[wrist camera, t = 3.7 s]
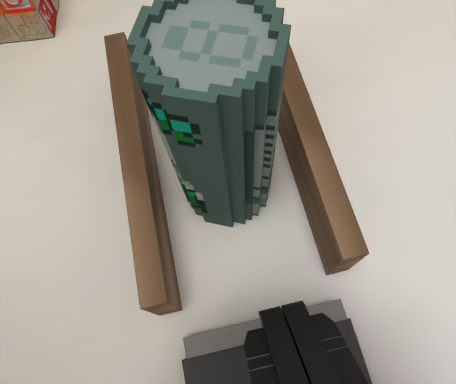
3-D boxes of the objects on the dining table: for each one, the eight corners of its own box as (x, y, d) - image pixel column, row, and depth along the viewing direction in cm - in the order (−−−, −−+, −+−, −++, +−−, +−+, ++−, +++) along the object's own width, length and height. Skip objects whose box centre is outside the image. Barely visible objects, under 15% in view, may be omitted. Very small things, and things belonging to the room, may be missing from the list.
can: (199, 144, 30) (156, -30, 16) (275, 158, 29) (299, -13, 15) (178, 215, 28) (108, 85, 14) (260, 232, 27) (271, 112, 13)
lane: (160, 315, 25) (140, 308, 20) (124, 80, 33) (104, 36, 28) (347, 269, 26) (369, 253, 21) (269, 48, 33) (273, 0, 29)
